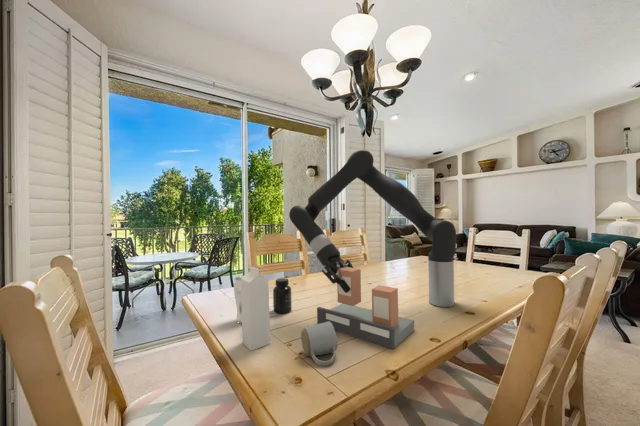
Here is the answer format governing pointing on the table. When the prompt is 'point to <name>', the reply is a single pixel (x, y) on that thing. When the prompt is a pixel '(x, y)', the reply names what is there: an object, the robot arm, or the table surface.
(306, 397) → the table surface
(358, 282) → the tea box
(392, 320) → the tea box
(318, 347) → the ceramic mug
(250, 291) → the milk
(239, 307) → the beer glass
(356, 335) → the display shelf
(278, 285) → the supplement bottle
